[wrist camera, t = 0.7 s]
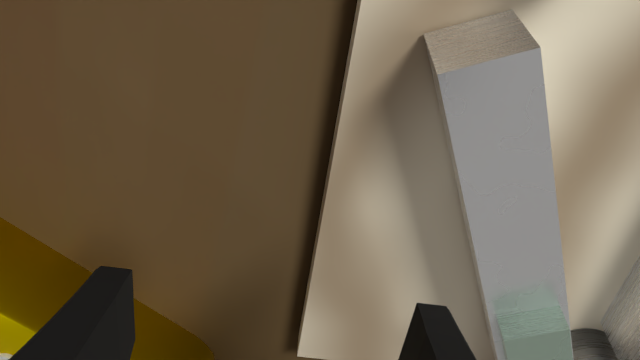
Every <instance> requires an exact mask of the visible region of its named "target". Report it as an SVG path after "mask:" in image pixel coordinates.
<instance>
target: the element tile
mask: <svg viewBox="0 0 640 360" xmlns="http://www.w3.org/2000/svg"><path fill="white" fill-rule="evenodd" d="M91 274H92V273H91V272H90V271H88V270H86V269H85V268H83V267H81V266H80V265H78V264H76V263H75V262H73V261H71V260H70V259H68V258H67V257H65V256H63V255H62V254H60V253H58V252H57V251H55V250H53V249H52V248H50V247H48V246H47V245H45V244H43V243H42V242H40V241H38V240H37V239H35V238H34V237H32V236H30V235H29V234H27V233H25V232H24V231H22V230H20V229H19V228H17V227H15V226H14V225H12V224H10V223H9V222H7V221H5V220H4V219H2V218H1V217H0V360H8V359H10V358H11V357H12V356H13V355H14V354H15V353H16V352H17V351H18V350H19V349H20V348H21V347H23V346H24V345H25V344H26V343H27V342H28V341H29V340H30V339H31V338H32V337H33V336H34V335H35V334H36V333H37V332H38V331H39V330H40V329H41V328H42V327H43V326H44V325H45V324H46V323H47V322H48V321H49V320H50V319H51V318H52V317H53V316H54V315H55V314H56V313H57V312H58V310H59V309H60V308H61V307H62V306H63V305H64V304H65V303H66V302H67V301H68V300H69V299H70V298H71V297H72V296H73V295H74V293H75V292H76V291H77V290H78V289H79V288H80V287H81V286H82V285H83V284H84V282H85V281H86V280H87V279H88V278H89V277H90V276H91ZM134 319H135V343H134V346H133V350H132V354H131V358H130V360H215V359H214V354H213V353H212V351H211V350H210V349H209V347H208V346H207V345H206V344H205V343H204V342H203V341H202V340H200V339H199V338H198V337H196V336H195V335H194V334H192V333H190V332H189V331H187V330H185V329H184V328H182V327H180V326H179V325H177V324H175V323H174V322H172V321H170V320H169V319H167V318H165V317H164V316H162V315H161V314H159V313H157V312H156V311H154V310H152V309H151V308H149V307H147V306H146V305H144V304H142V303H141V302H139V301H137V300H136V299H134Z"/></svg>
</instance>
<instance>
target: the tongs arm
mask: <svg viewBox="0 0 640 360" xmlns="http://www.w3.org/2000/svg"><path fill="white" fill-rule="evenodd" d="M424 39H425V43H426V48H427V53H428V57H429V62H430V66H431V71H432V76H433V80H434V85H435V89H436V94H437V99H438V103H439V108H440V112H441V117H442V122H443V126H444V131H445V135H446V140H447V145H448V149H449V154H450V158H451V163H452V168H453V172H454V177H455V181H456V186H457V191H458V195H459V200H460V204H461V209H462V214H463V218H464V223H465V227H466V232H467V237H468V241H469V246H470V251H471V255H472V260H473V264H474V269H475V274H476V278H477V283H478V287H479V292H480V297H481V301H482V306H483V310H484V315H485V320H486V324H487V329H488V333H489V338H490V342H491V346H492V350H493V353H494V357H495V360H574V358H573V349H572V340H571V330H570V321H569V311H568V302H567V292H566V283H565V273H564V264H563V255H562V245H561V236H560V226H559V217H558V207H557V198H556V188H555V179H554V170H553V160H552V151H551V141H550V132H549V122H548V113H547V103H546V94H545V84H544V75H543V66H542V56H541V47H540V46H539V45H538V43H537V42H536V41H535V39H534V38H533V37H532V35H531V34H530V33H529V31H528V30H527V28H526V27H525V26H524V24H523V23H522V22H521V20H520V19H519V18H518V16H517V15H516V14H515V12H514V11H513V10H512V9H511V10H507V11H504V12H500V13H496V14H493V15H489V16H486V17H482V18H479V19H475V20H471V21H468V22H464V23H461V24H457V25H453V26H450V27H446V28H443V29H439V30H435V31H432V32H428V33H425V34H424Z"/></svg>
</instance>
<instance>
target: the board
mask: <svg viewBox="0 0 640 360" xmlns="http://www.w3.org/2000/svg"><path fill="white" fill-rule="evenodd" d="M511 9H512V10H513V11H514V12H515V14H516V15H517V16H518V18H519V19H520V20H521V22H522V23H523V24H524V26H525V27H526V28H527V30H528V31H529V33H530V34H531V35H532V37H533V38H534V39H535V41H536V42H537V43H538V45H539V46H540V47H541V56H542V66H543V75H544V84H545V94H546V103H547V113H548V122H549V132H550V141H551V151H552V160H553V170H554V179H555V188H556V198H557V207H558V217H559V226H560V236H561V245H562V255H563V264H564V273H565V283H566V292H567V302H568V311H569V321H570V330H574V329H581V328H590V329H597V330H601V331H604V329H603V327H602V325H601V323H600V321H601V320H602V318H603V316H604V315H605V313H606V311H607V309H608V308H609V306H610V304H611V303H612V301H613V299H614V297H615V296H616V294H617V292H618V291H619V289H620V287H621V286H622V284H623V282H624V280H625V279H626V277H627V275H628V274H629V272H630V270H631V268H632V267H633V265H634V263H635V262H636V260H637V258H638V256H639V255H640V0H358V1H357V7H356V12H355V18H354V24H353V29H352V35H351V41H350V46H349V52H348V58H347V63H346V69H345V75H344V80H343V86H342V92H341V97H340V103H339V109H338V114H337V120H336V125H335V131H334V137H333V142H332V148H331V154H330V159H329V165H328V171H327V176H326V182H325V188H324V193H323V199H322V205H321V210H320V216H319V222H318V227H317V233H316V239H315V244H314V250H313V256H312V261H311V267H310V273H309V278H308V284H307V290H306V295H305V301H304V307H303V312H302V318H301V324H300V329H299V336H298V352H297V356H300V357H309V358H318V359H327V360H398V359H399V356H400V353H401V350H402V347H403V344H404V341H405V337H406V334H407V331H408V328H409V325H410V322H411V319H412V316H413V313H414V310H415V307H416V304H417V303H424V304H433V305H441V306H446V307H447V308H448V309H449V311H450V312H451V314H452V316H453V318H454V320H455V322H456V323H457V325H458V327H459V329H460V331H461V333H462V334H463V336H464V338H465V340H466V342H467V343H468V345H469V347H470V349H471V351H472V352H473V354H474V356H475V357H476V359H477V360H495V357H494V353H493V350H492V346H491V342H490V338H489V333H488V329H487V324H486V320H485V315H484V310H483V306H482V301H481V297H480V292H479V287H478V283H477V278H476V274H475V269H474V264H473V260H472V255H471V251H470V246H469V241H468V237H467V232H466V227H465V223H464V218H463V214H462V209H461V204H460V200H459V195H458V191H457V186H456V181H455V177H454V172H453V168H452V163H451V158H450V154H449V149H448V145H447V140H446V135H445V131H444V126H443V122H442V117H441V112H440V108H439V103H438V99H437V94H436V89H435V85H434V80H433V76H432V71H431V66H430V62H429V57H428V53H427V48H426V43H425V39H424V34H425V33H428V32H432V31H435V30H439V29H443V28H446V27H450V26H453V25H457V24H461V23H464V22H468V21H471V20H475V19H479V18H482V17H486V16H489V15H493V14H496V13H500V12H504V11H507V10H511Z"/></svg>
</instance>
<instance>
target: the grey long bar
mask: <svg viewBox="0 0 640 360" xmlns="http://www.w3.org/2000/svg"><path fill="white" fill-rule="evenodd" d="M600 323H601V325H602V327H603V329H604V331H601V330H597V329H590V328H581V329H574V330H571V340H572V349H573V358H574V360H640V255H639V256H638V258H637V260H636V262H635V263H634V265H633V267H632V268H631V270H630V272H629V274H628V275H627V277H626V279H625V280H624V282H623V284H622V286H621V287H620V289H619V291H618V292H617V294H616V296H615V297H614V299H613V301H612V303H611V304H610V306H609V308H608V309H607V311H606V313H605V315H604V316H603V318H602V320H601V321H600Z"/></svg>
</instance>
